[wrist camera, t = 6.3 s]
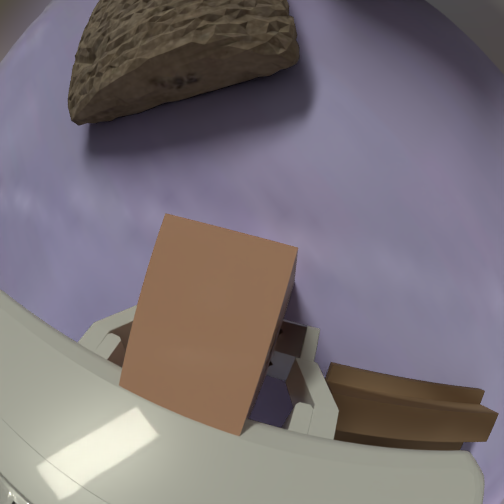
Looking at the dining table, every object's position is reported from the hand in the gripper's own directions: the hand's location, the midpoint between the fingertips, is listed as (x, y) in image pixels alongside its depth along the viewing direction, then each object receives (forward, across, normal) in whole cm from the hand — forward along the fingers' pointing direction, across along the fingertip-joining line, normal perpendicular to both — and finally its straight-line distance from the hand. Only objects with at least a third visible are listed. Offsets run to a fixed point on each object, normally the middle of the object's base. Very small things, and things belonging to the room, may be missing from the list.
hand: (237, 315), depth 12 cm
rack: (-2, -11, +10) cm, 15 cm away
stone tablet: (+24, +16, -14) cm, 32 cm away
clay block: (+4, 0, +5) cm, 6 cm away
